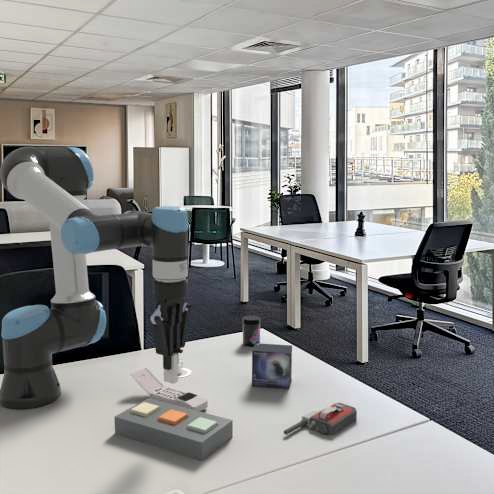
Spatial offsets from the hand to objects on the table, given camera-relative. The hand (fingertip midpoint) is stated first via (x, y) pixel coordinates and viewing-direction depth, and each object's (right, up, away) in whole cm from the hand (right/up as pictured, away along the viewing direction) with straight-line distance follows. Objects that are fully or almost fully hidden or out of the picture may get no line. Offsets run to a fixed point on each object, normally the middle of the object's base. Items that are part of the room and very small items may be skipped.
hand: (170, 381), depth 132 cm
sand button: (-7, -12, +6) cm, 14 cm away
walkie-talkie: (+34, -12, +6) cm, 37 cm away
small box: (+24, -8, +32) cm, 40 cm away
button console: (0, -12, +2) cm, 13 cm away
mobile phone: (-3, -10, +20) cm, 22 cm away
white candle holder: (-1, -7, +42) cm, 43 cm away
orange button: (0, -12, +2) cm, 12 cm away
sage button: (+7, -13, -2) cm, 15 cm away
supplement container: (+18, -3, +66) cm, 68 cm away
